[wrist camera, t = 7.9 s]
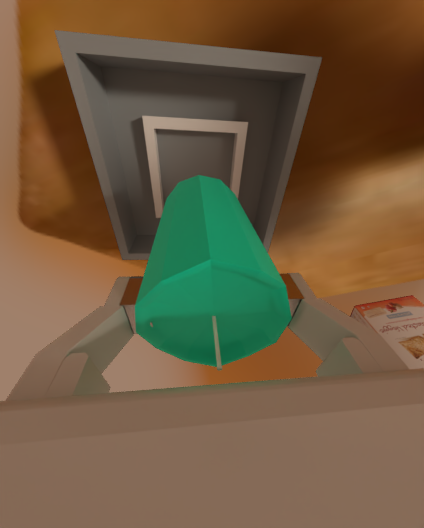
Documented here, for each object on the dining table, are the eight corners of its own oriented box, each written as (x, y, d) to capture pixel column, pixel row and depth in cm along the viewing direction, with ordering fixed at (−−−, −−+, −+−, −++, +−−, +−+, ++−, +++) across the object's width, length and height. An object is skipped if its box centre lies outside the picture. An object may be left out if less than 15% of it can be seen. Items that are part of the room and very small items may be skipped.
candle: (237, 242, 17) (291, 393, 8) (171, 248, 17) (148, 410, 8) (240, 171, 14) (349, 295, 4) (156, 177, 13) (77, 322, 4)
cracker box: (412, 293, 46) (536, 392, 29) (401, 308, 50) (506, 404, 33) (353, 304, 47) (442, 407, 30) (347, 318, 50) (423, 417, 34)
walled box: (291, 71, 20) (322, 57, 15) (255, 237, 32) (266, 258, 28) (90, 52, 18) (54, 30, 13) (133, 237, 30) (122, 259, 26)
